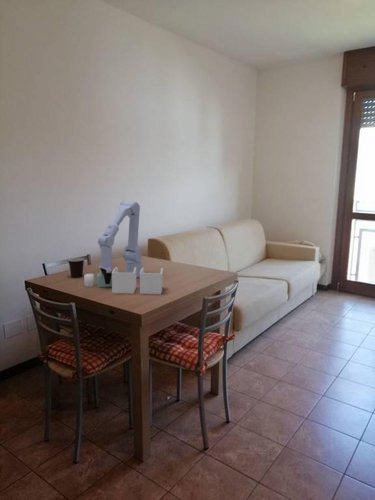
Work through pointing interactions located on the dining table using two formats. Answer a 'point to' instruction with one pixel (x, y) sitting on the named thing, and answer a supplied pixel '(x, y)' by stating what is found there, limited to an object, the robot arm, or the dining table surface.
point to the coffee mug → (76, 267)
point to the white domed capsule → (88, 280)
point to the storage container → (127, 282)
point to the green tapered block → (102, 281)
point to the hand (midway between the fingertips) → (106, 282)
